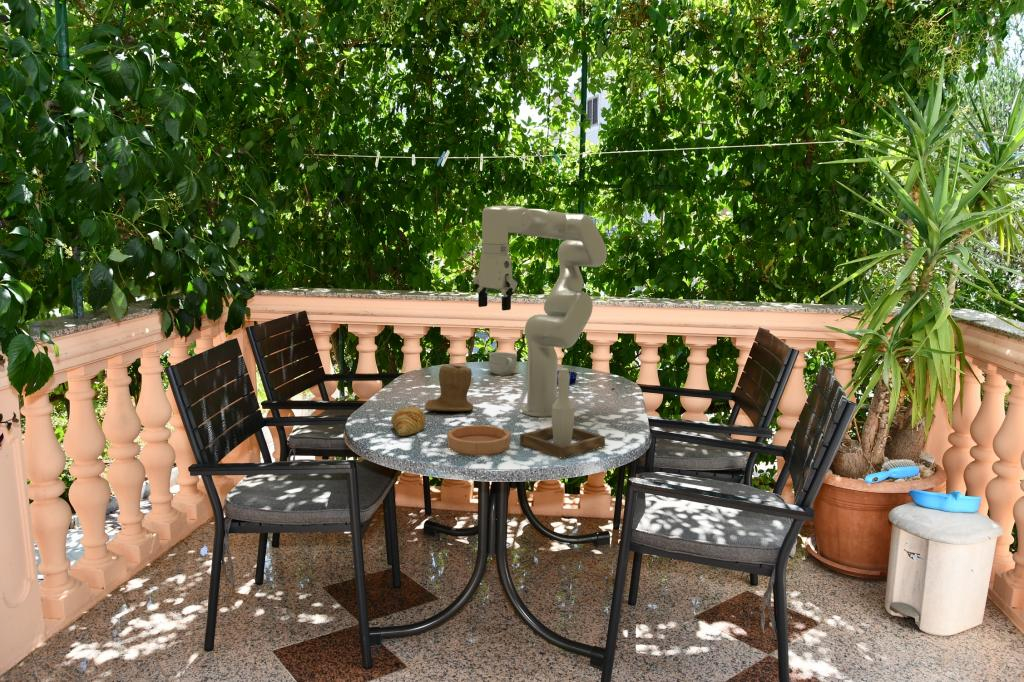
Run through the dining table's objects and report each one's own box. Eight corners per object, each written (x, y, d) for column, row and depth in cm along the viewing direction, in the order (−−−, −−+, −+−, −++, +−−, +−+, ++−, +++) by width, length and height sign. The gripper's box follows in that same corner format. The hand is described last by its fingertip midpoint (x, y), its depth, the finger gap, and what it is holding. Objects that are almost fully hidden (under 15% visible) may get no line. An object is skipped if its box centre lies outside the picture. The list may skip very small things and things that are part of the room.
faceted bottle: (549, 448, 241) (551, 370, 238) (552, 441, 248) (554, 366, 244) (572, 449, 240) (574, 372, 236) (574, 443, 246) (576, 367, 243)
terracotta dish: (482, 433, 255) (482, 422, 254) (522, 446, 242) (522, 434, 242) (435, 444, 244) (435, 432, 243) (474, 459, 231) (474, 446, 230)
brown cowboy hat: (474, 406, 287) (474, 361, 284) (472, 415, 275) (472, 369, 272) (428, 405, 287) (428, 360, 284) (424, 414, 275) (424, 368, 273)
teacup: (487, 371, 340) (487, 351, 339) (514, 370, 342) (514, 350, 341) (492, 379, 327) (492, 358, 326) (520, 378, 329) (521, 357, 328)
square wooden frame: (562, 433, 256) (562, 423, 255) (604, 446, 243) (605, 436, 243) (520, 444, 245) (520, 434, 244) (562, 458, 232) (562, 447, 232)
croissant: (412, 450, 250) (424, 427, 248) (381, 434, 249) (393, 410, 247) (423, 428, 270) (435, 407, 269) (394, 413, 270) (406, 391, 268)
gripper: (525, 251, 249) (524, 310, 252) (483, 247, 261) (483, 304, 264) (507, 252, 244) (506, 312, 247) (465, 248, 255) (464, 306, 258)
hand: (494, 308), depth 255 cm, fingers open, 9 cm apart
